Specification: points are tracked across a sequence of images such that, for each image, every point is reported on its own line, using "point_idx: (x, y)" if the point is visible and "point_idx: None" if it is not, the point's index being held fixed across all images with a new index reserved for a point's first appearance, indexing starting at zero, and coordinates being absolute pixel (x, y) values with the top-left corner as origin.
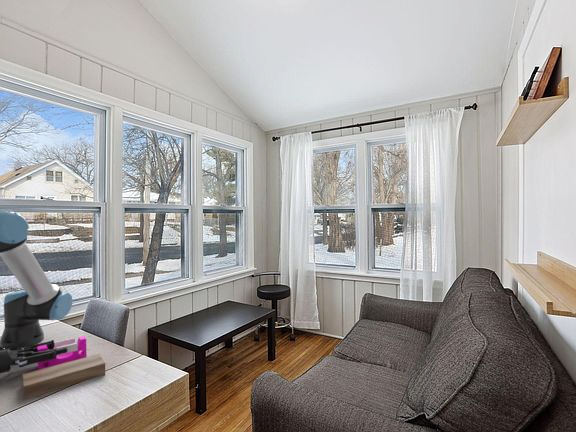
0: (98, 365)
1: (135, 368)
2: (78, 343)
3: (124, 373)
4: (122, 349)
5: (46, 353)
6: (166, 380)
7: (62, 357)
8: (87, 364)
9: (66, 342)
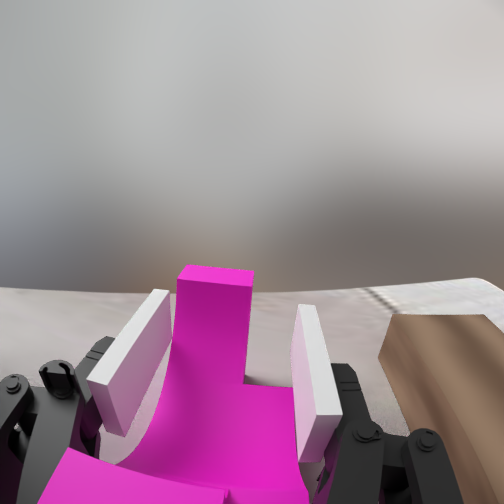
0: (495, 327)
1: (445, 307)
2: (230, 317)
3: None
4: (271, 294)
5: (450, 489)
6: (499, 292)
7: (272, 446)
8: (490, 346)
9: (150, 341)
